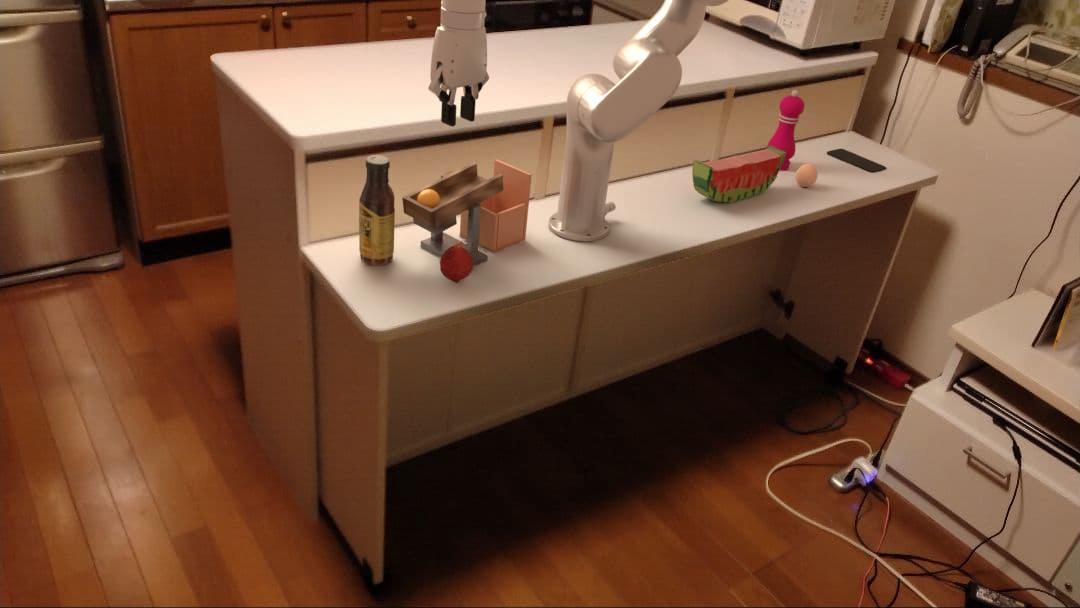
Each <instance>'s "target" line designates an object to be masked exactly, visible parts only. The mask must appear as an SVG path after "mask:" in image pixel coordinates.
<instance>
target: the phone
mask: <svg viewBox="0 0 1080 608" xmlns="http://www.w3.org/2000/svg"><path fill="white" fill-rule="evenodd" d="M826 155H827V156H830V157H832V158H835V159H837V160H839V161H841V162H845V163H847V164H849V165H850V166H852V167H853V166H854V167H855V168H859V169H861V170H863V171H865V172H868V173H878V172H881V171H885V170H887V167H886V166H884V165H883V164H881V163H878V162H876V161H873V160H870V159H868V158H866V157H864V156H861V155H859V154H856V153H854V152H851V151H849V150H847V149H844V148H835V149H832V150H829V151H827V152H826Z"/></svg>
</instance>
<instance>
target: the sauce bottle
mask: <svg viewBox="0 0 1080 608" xmlns="http://www.w3.org/2000/svg"><path fill="white" fill-rule="evenodd" d="M390 163H391V161H390V159H389V157H387V156H385V155H380V154H373V155H368V157H366V159H365V168H366V179H365V180H366V181H365V184H364V186H363V189H362V192H361V194H360V197H359V199H358V200H359V203H358V204H359V206H358V211H359V213H358V215H359V216H358V223H359V224H358V225H359V227H358V229H359V230H358V231H359V236H358V238H359V239H358V240H359V243H358V244H359V247H358V248H359V249H358V250H359V253H360V254H359V257H360V260H361V261H362V262H363V263H366V264H367V265H368V266H383V265H386V264H389V263H391V262H392V261H393V257H394V253H395V251H394V250H395V222H396V221H395V218H396V217H395V215H396V209H395V193H394V191H393V188H392V186H390V184H389V183H390V179H389V169H390V166H391V165H390Z"/></svg>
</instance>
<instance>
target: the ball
mask: <svg viewBox="0 0 1080 608" xmlns="http://www.w3.org/2000/svg"><path fill="white" fill-rule="evenodd" d="M417 202H419V203H421V204H423V205H425V206H427V207H429V208H431V209H432V208H434V207H436V206H438V205H440V197H439V195H438V193H437V192H436V191H434V190H431V189H426V190H423V191H422V192H421V193H420V194H419V195H418V199H417Z"/></svg>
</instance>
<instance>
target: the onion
mask: <svg viewBox="0 0 1080 608" xmlns="http://www.w3.org/2000/svg"><path fill="white" fill-rule="evenodd" d="M461 242H462V241H461ZM461 242H457V243H455V245H454V246H452V247H450V248H448V249H447V250H446V251H445V252H444V253H443V255H442V256H441V258H440V260H439V267H440V272H441V275H443V276H444V278H446V279H447V280H449V281H451V282H453V283H454V284H457V283H460V282H461V281H464V279H465V280H466V278H467V277H469V276H470V274H471V273H472V271H473V268H474V267H473V260H472V257H471V255H470V253H469V252H468V251H467V250H466V249H464V248H463V247H462V244H461Z"/></svg>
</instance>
